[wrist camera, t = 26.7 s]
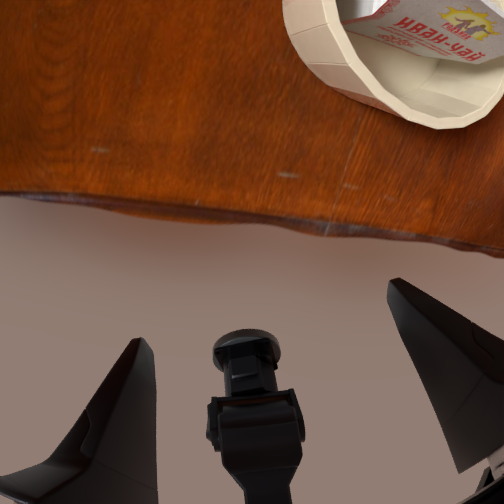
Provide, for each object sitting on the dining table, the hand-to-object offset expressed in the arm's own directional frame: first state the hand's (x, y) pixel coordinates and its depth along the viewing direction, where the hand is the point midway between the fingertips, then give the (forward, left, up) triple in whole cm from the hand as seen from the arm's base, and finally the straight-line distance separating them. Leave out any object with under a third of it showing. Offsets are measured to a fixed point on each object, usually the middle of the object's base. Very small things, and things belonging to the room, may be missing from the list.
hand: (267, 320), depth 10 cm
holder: (+10, -11, -12) cm, 19 cm away
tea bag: (+10, -11, -12) cm, 19 cm away
